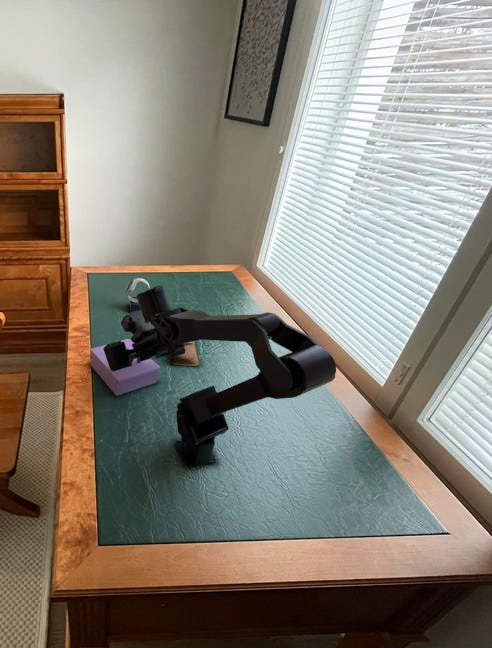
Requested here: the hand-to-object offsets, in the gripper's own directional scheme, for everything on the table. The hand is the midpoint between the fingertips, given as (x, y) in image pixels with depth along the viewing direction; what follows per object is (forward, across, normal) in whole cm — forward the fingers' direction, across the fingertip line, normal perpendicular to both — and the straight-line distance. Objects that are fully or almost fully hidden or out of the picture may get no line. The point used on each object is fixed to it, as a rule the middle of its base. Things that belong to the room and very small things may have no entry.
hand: (128, 356), depth 97 cm
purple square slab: (+3, 0, 0) cm, 3 cm away
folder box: (+7, 0, +3) cm, 7 cm away
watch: (+27, -22, -17) cm, 39 cm away
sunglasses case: (+9, -22, +1) cm, 24 cm away
